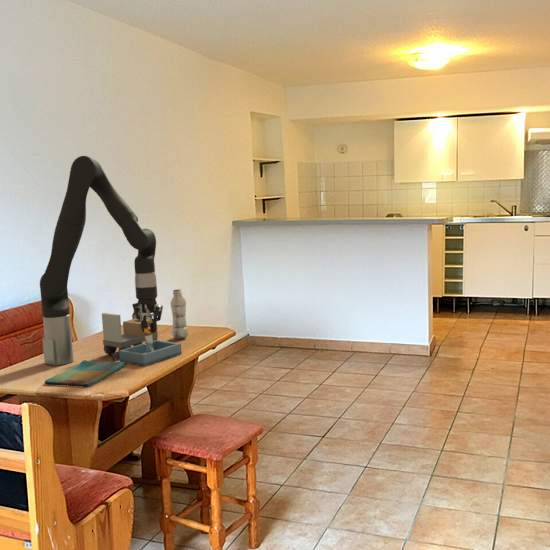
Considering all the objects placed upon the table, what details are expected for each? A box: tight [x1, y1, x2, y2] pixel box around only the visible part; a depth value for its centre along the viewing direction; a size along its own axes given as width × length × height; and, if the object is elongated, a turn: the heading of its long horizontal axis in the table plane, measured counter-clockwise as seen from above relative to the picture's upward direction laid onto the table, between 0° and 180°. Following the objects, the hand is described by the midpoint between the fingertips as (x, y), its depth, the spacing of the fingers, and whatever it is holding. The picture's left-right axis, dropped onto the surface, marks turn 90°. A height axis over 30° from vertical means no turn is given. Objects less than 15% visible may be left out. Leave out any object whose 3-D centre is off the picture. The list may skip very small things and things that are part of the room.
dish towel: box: [43, 359, 126, 388], centre depth 213 cm, size 17×23×2 cm
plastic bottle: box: [169, 288, 189, 340], centre depth 259 cm, size 6×7×20 cm
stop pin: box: [144, 327, 154, 353], centre depth 231 cm, size 3×3×10 cm
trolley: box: [101, 312, 159, 361], centre depth 240 cm, size 21×10×16 cm, turn 143°
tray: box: [118, 339, 182, 367], centre depth 231 cm, size 18×13×4 cm
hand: (149, 331), depth 230 cm, fingers open, 4 cm apart
